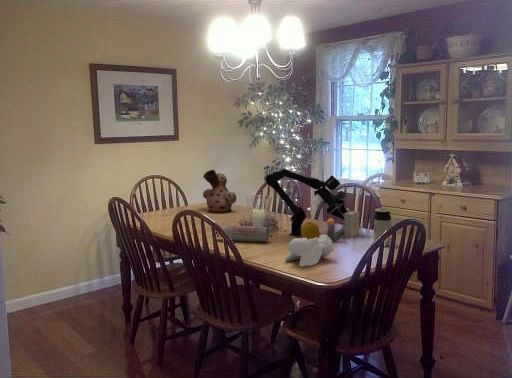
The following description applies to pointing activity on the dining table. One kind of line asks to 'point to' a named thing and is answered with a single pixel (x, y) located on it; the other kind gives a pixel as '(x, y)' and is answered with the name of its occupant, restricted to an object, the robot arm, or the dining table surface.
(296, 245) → the cherub figurine
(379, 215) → the travel mug
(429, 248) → the dining table surface
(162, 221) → the dining table surface
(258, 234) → the thermos bottle
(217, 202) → the vessel
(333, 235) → the cord guide
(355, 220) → the supplement box
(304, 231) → the apple
